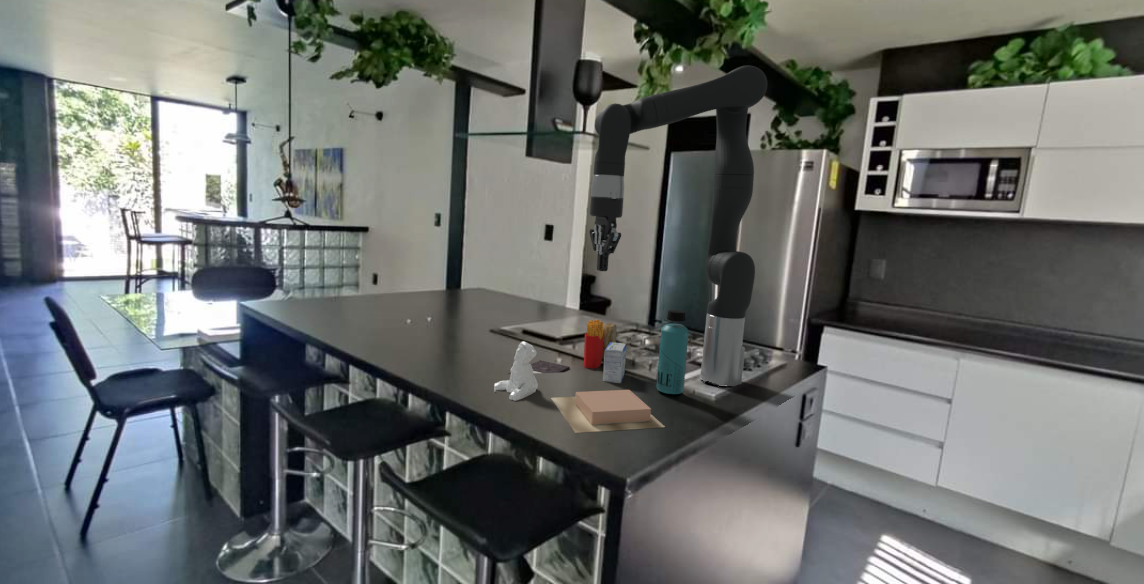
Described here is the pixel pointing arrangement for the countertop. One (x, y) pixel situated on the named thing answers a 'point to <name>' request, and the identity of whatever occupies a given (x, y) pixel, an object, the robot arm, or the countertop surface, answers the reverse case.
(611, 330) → the tan mottled block
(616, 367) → the medicine box
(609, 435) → the countertop surface
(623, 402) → the glazed tile
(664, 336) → the beverage bottle
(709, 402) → the countertop surface
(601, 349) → the french fries
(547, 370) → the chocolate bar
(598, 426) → the birch board
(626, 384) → the countertop surface
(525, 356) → the sitting furry creature
